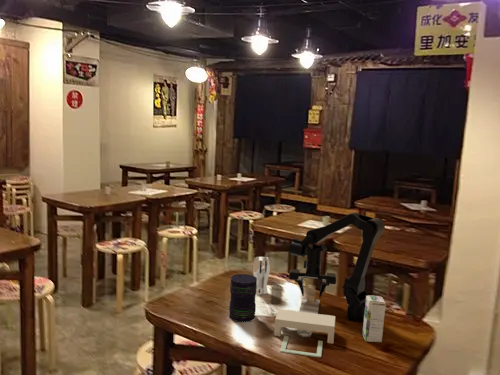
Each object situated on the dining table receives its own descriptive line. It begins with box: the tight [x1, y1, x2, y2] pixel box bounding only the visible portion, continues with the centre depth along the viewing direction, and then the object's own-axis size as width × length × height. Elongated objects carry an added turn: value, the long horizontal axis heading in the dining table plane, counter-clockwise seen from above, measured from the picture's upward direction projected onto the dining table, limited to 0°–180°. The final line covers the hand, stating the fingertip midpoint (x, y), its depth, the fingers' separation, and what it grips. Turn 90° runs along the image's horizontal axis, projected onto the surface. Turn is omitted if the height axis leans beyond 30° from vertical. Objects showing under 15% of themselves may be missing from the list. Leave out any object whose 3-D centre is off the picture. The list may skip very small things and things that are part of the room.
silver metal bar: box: [298, 284, 320, 314], centre depth 184 cm, size 24×7×8 cm, turn 169°
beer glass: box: [252, 256, 271, 296], centre depth 203 cm, size 7×7×15 cm
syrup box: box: [362, 295, 387, 343], centre depth 164 cm, size 6×6×14 cm
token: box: [296, 329, 313, 338], centre depth 166 cm, size 5×5×2 cm
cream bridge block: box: [273, 308, 336, 344], centre depth 166 cm, size 20×9×6 cm, turn 79°
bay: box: [279, 335, 324, 359], centre depth 156 cm, size 13×11×1 cm
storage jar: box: [228, 273, 257, 323], centre depth 177 cm, size 10×10×15 cm
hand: (311, 296), depth 193 cm, fingers open, 6 cm apart
